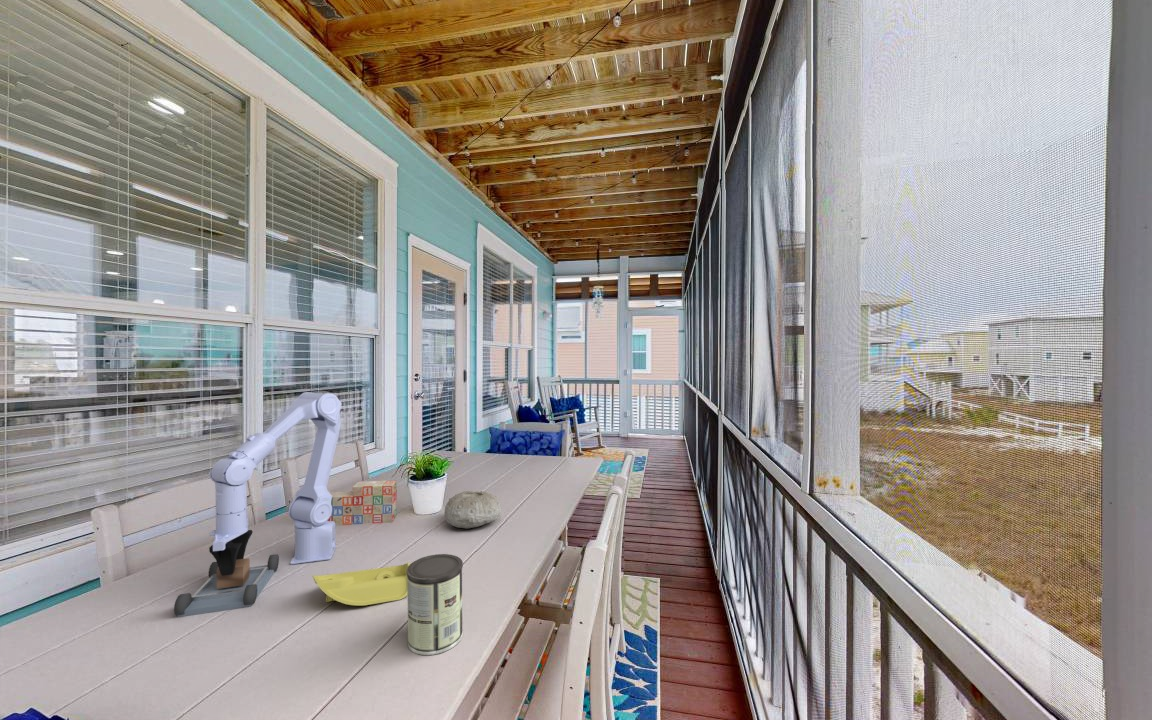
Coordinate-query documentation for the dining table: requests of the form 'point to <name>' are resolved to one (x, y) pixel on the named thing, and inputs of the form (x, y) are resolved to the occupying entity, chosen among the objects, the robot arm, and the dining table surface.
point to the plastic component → (365, 585)
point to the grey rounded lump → (472, 509)
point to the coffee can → (434, 604)
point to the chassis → (226, 591)
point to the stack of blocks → (365, 503)
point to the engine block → (235, 575)
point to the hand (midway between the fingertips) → (232, 569)
